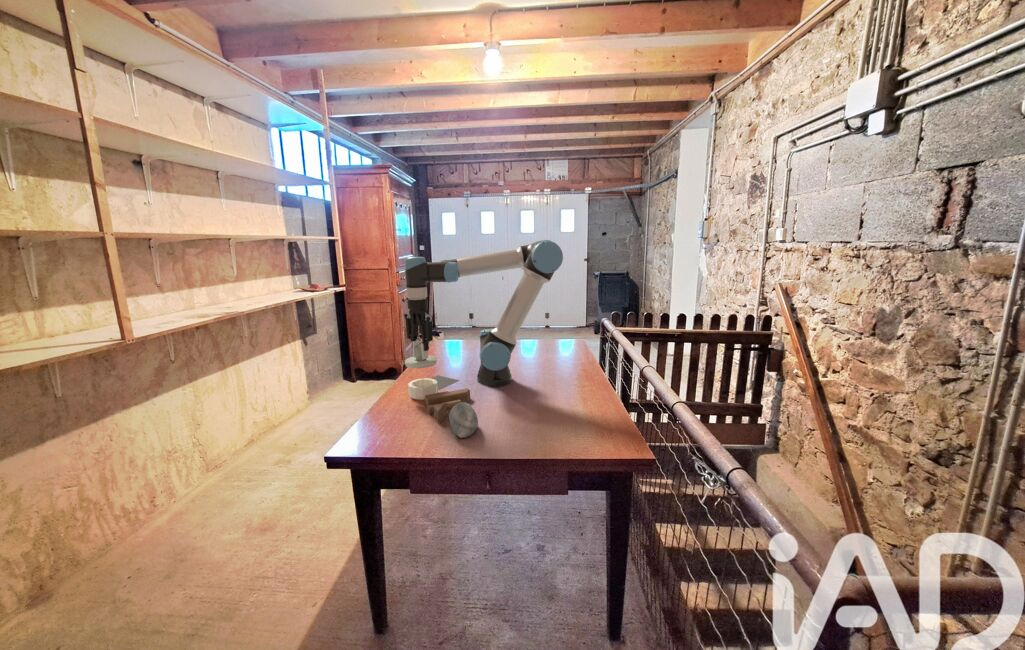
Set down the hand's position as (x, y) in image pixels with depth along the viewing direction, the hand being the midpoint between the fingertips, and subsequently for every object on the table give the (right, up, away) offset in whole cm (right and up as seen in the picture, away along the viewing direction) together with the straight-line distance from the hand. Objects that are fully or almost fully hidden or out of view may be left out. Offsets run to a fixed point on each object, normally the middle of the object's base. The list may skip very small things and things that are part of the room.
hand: (420, 357), depth 151 cm
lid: (0, -2, 0) cm, 2 cm away
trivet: (+4, -12, +16) cm, 21 cm away
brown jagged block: (+14, -19, -11) cm, 26 cm away
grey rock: (+20, -22, -26) cm, 40 cm away
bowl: (0, -15, +3) cm, 16 cm away
